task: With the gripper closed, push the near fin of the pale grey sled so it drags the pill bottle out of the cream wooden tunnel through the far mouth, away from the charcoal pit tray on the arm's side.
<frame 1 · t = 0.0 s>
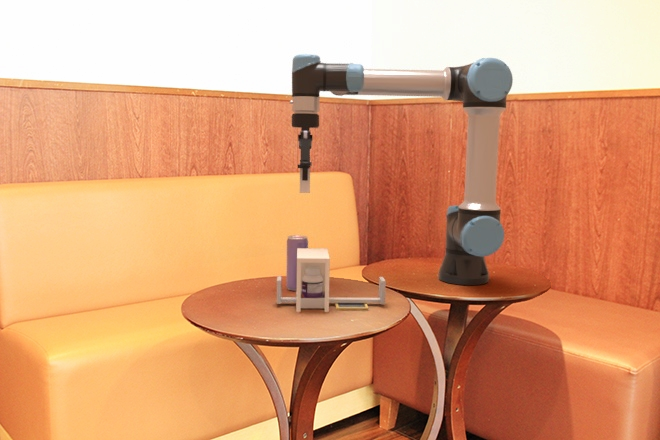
hand: (304, 190, 178), 28 cm above the table, fingers open, 13 cm apart
pill bottle: (312, 305, 166), resting in sled
tunnel: (312, 304, 165), on the table
pit tray: (350, 304, 166), on the table
beverage can: (297, 289, 182), on the table
sled: (330, 291, 165), point 4 cm above the table, slide at 0.0 cm
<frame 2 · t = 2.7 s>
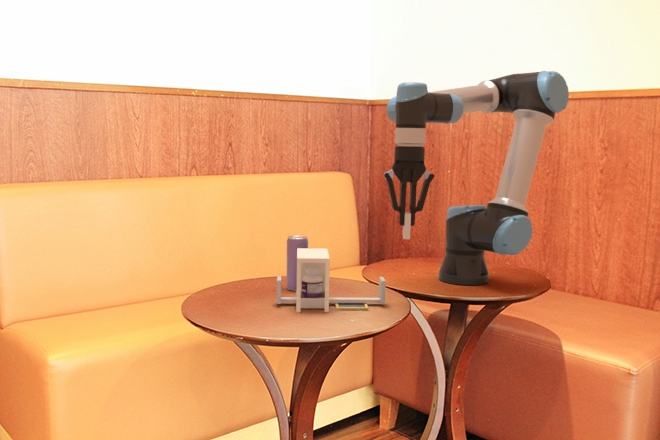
hand: (406, 238, 164), 18 cm above the table, fingers closed
nothing on the table moved.
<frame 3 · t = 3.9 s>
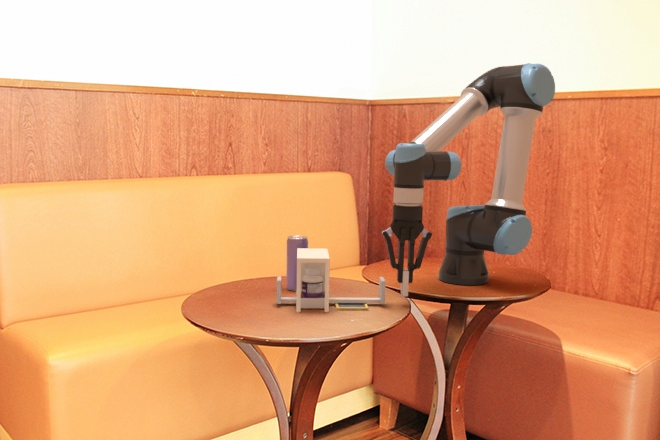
hand: (404, 295, 166), 3 cm above the table, fingers closed
nothing on the table moved.
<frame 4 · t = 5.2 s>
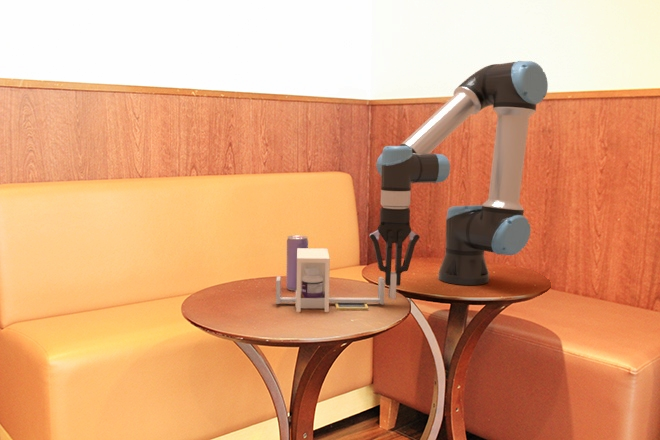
hand: (392, 297, 166), 2 cm above the table, fingers closed
sled: (330, 291, 165), point 4 cm above the table, slide at 0.2 cm, touching gripper
everything else where it was.
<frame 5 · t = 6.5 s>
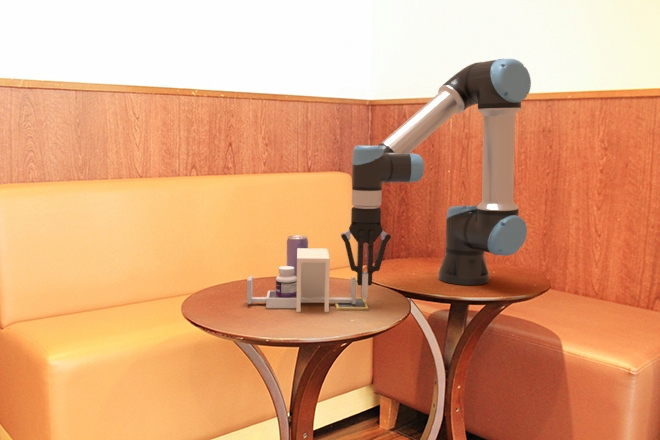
hand: (364, 297, 166), 2 cm above the table, fingers closed
pill bottle: (286, 305, 165), resting in sled
sled: (301, 291, 165), point 4 cm above the table, slide at 7.5 cm, touching gripper, pill bottle
everything else where it was.
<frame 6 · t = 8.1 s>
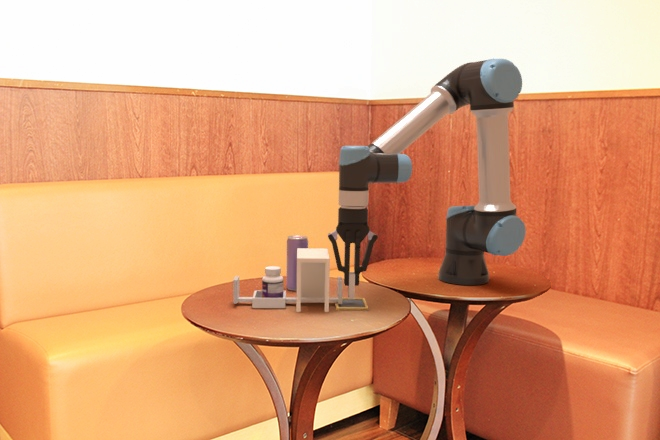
hand: (351, 297, 166), 2 cm above the table, fingers closed
pill bottle: (272, 305, 165), resting in sled
sled: (288, 291, 165), point 4 cm above the table, slide at 10.9 cm
everything else where it was.
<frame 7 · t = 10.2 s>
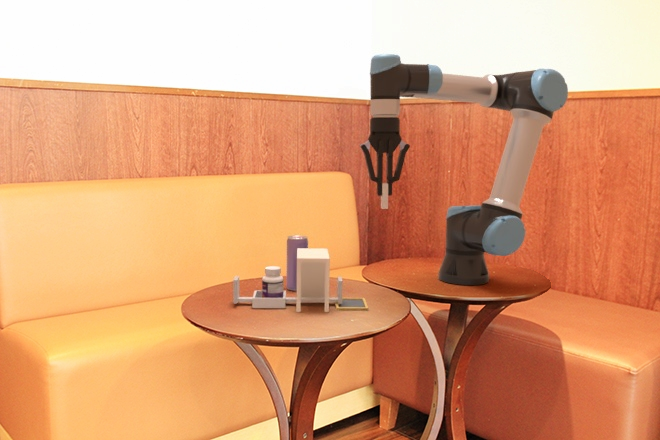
hand: (384, 208, 168), 25 cm above the table, fingers closed
nothing on the table moved.
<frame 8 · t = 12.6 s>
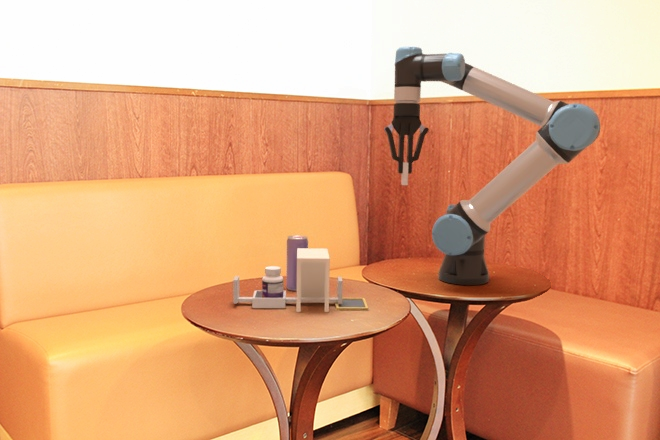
hand: (404, 184, 188), 29 cm above the table, fingers closed
nothing on the table moved.
at the end: sled slide at 10.9 cm; pill bottle inside the target area (0.4 cm from its centre), resting in sled; pill bottle tilted 0° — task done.
